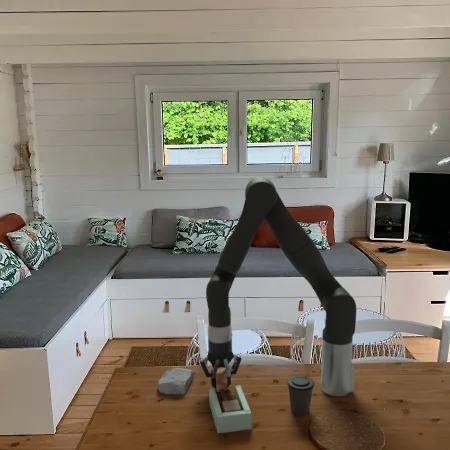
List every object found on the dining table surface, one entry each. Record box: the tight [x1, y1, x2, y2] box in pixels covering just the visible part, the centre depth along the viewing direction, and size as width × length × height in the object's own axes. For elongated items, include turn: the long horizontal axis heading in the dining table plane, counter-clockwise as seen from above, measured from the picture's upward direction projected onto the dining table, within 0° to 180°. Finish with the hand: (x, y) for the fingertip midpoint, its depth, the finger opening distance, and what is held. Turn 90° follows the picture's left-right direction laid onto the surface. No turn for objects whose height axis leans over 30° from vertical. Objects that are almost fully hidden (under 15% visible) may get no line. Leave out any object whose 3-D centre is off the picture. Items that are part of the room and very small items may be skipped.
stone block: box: [157, 367, 194, 396], centre depth 156 cm, size 12×5×10 cm
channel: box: [208, 384, 252, 434], centre depth 139 cm, size 10×15×5 cm, turn 10°
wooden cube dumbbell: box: [215, 367, 241, 413], centre depth 144 cm, size 4×21×6 cm, turn 11°
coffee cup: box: [286, 375, 316, 417], centre depth 140 cm, size 8×8×10 cm
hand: (220, 386), depth 153 cm, fingers closed on wooden cube dumbbell, 3 cm apart
